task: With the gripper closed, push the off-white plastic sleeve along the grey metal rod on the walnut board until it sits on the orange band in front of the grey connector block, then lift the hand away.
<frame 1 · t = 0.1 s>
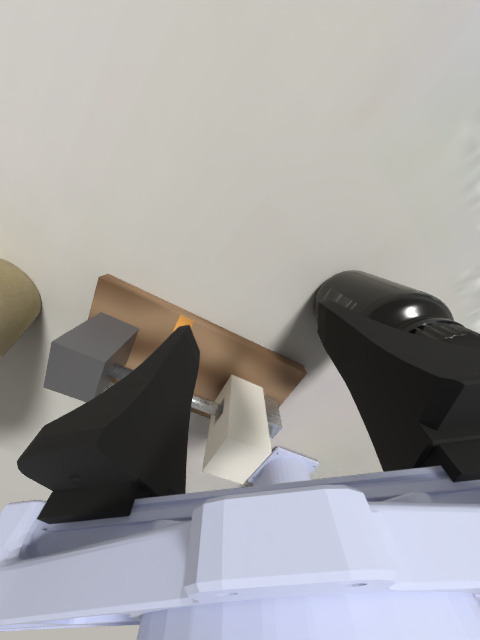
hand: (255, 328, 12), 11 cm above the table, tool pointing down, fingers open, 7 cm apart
board: (194, 363, 25), on the table
connector: (96, 354, 19), on the board, point 4 cm above the table
sleeve: (236, 423, 21), point 6 cm above the table, slide at 0.0 cm
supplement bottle: (343, 300, 22), on the table
plant pot: (8, 291, 22), on the table
rail: (195, 388, 22), on the board, point 4 cm above the table
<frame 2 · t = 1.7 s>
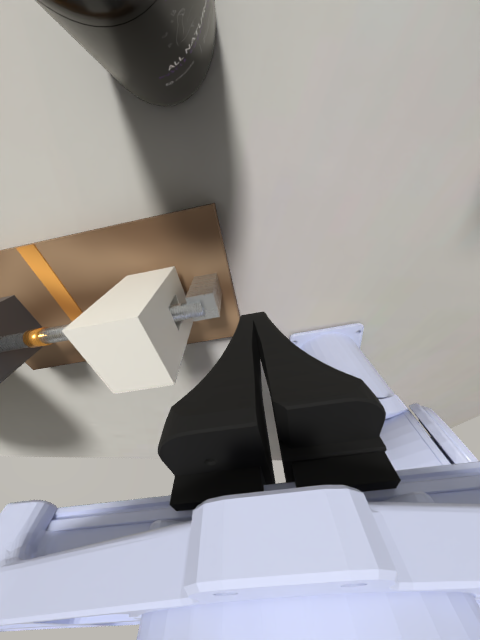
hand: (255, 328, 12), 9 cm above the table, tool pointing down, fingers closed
board: (111, 297, 20), on the table
sleeve: (147, 322, 15), point 6 cm above the table, slide at -0.1 cm
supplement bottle: (156, 24, 11), on the table
rail: (99, 317, 17), on the board, point 4 cm above the table
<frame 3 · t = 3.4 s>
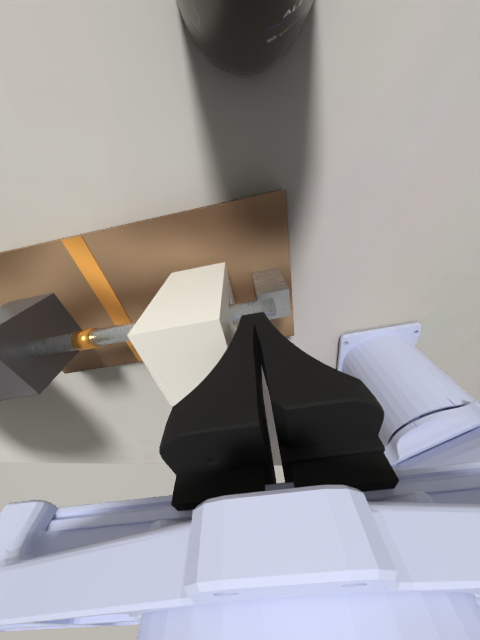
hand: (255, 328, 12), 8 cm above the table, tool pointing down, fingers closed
board: (154, 295, 19), on the table
connector: (23, 344, 16), on the board, point 4 cm above the table
sleeve: (201, 324, 13), point 6 cm above the table, slide at 0.8 cm, touching gripper
rail: (150, 316, 15), on the board, point 4 cm above the table
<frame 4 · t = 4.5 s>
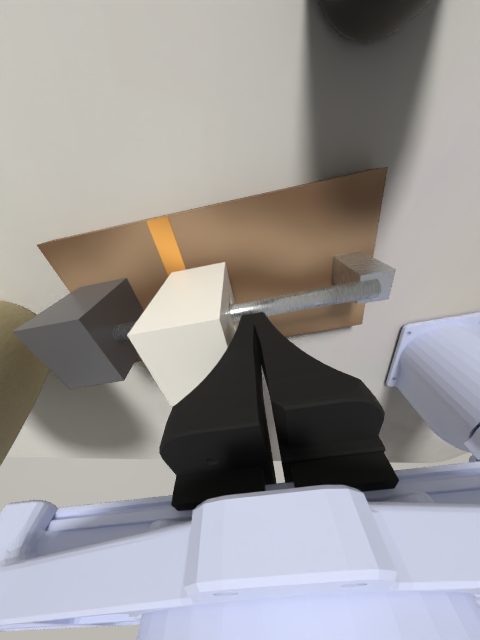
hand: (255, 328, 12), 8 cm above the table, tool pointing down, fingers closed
board: (222, 282, 18), on the table
connector: (99, 329, 15), on the board, point 4 cm above the table
sleeve: (201, 324, 13), point 6 cm above the table, slide at 7.1 cm, touching gripper
plant pot: (19, 330, 21), on the table
rail: (233, 301, 15), on the board, point 4 cm above the table
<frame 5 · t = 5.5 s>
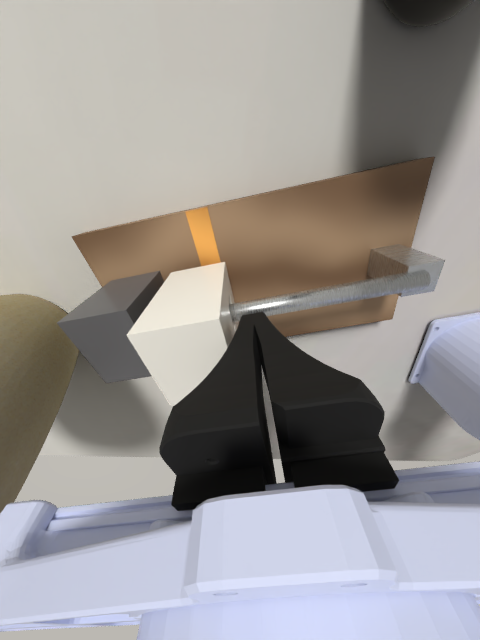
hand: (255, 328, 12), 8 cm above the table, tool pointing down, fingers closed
board: (252, 276, 18), on the table
connector: (134, 323, 15), on the board, point 4 cm above the table
sleeve: (201, 324, 13), point 6 cm above the table, slide at 9.8 cm, touching gripper
plant pot: (43, 325, 20), on the table
rail: (271, 294, 15), on the board, point 4 cm above the table
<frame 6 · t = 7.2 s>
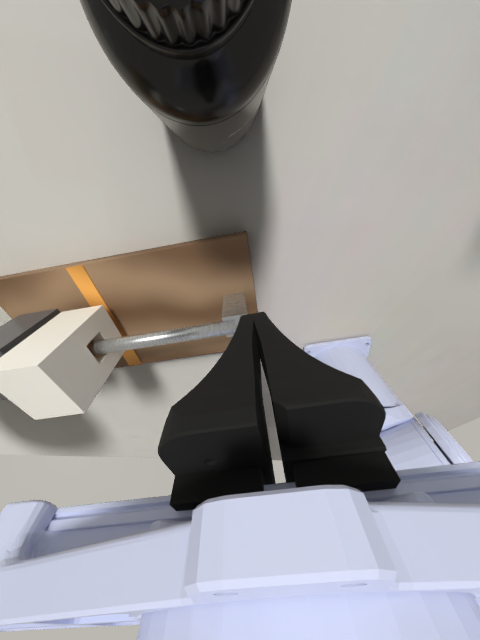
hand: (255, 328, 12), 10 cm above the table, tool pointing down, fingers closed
board: (143, 310, 22), on the table
connector: (31, 351, 19), on the board, point 4 cm above the table
sleeve: (72, 356, 17), point 6 cm above the table, slide at 9.8 cm
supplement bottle: (209, 86, 13), on the table
rail: (138, 330, 19), on the board, point 4 cm above the table
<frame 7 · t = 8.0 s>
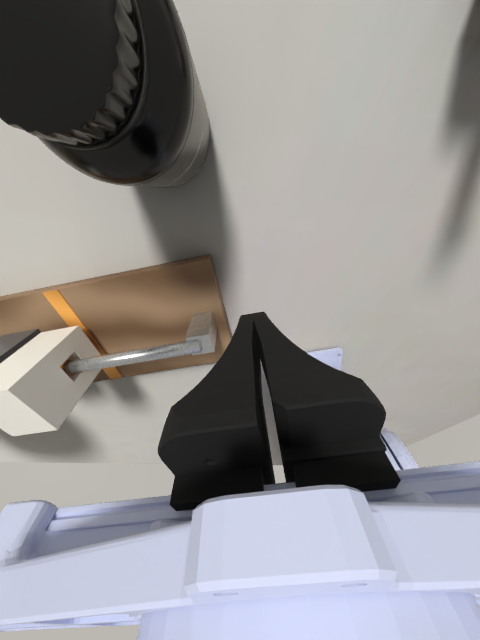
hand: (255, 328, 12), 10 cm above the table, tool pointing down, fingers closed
board: (120, 328, 23), on the table
connector: (13, 370, 20), on the board, point 4 cm above the table
sleeve: (48, 376, 18), point 6 cm above the table, slide at 9.8 cm
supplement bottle: (162, 128, 14), on the table
rail: (112, 349, 20), on the board, point 4 cm above the table
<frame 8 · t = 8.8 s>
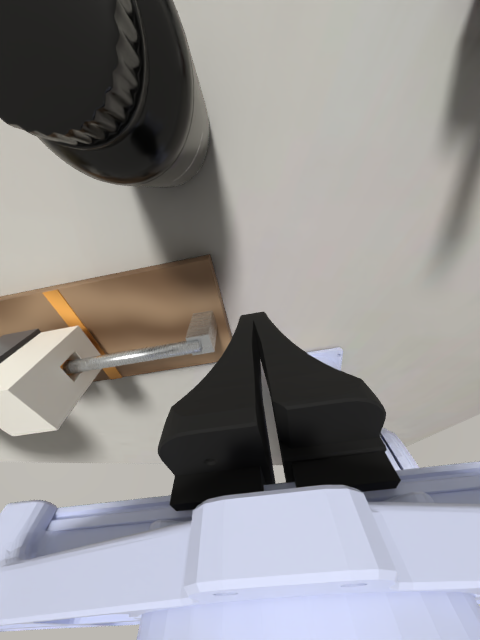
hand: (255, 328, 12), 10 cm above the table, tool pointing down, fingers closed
board: (120, 328, 23), on the table
connector: (13, 370, 20), on the board, point 4 cm above the table
sleeve: (48, 376, 18), point 6 cm above the table, slide at 9.8 cm
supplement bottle: (162, 128, 14), on the table
rail: (112, 349, 20), on the board, point 4 cm above the table
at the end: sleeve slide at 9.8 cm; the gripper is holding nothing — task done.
